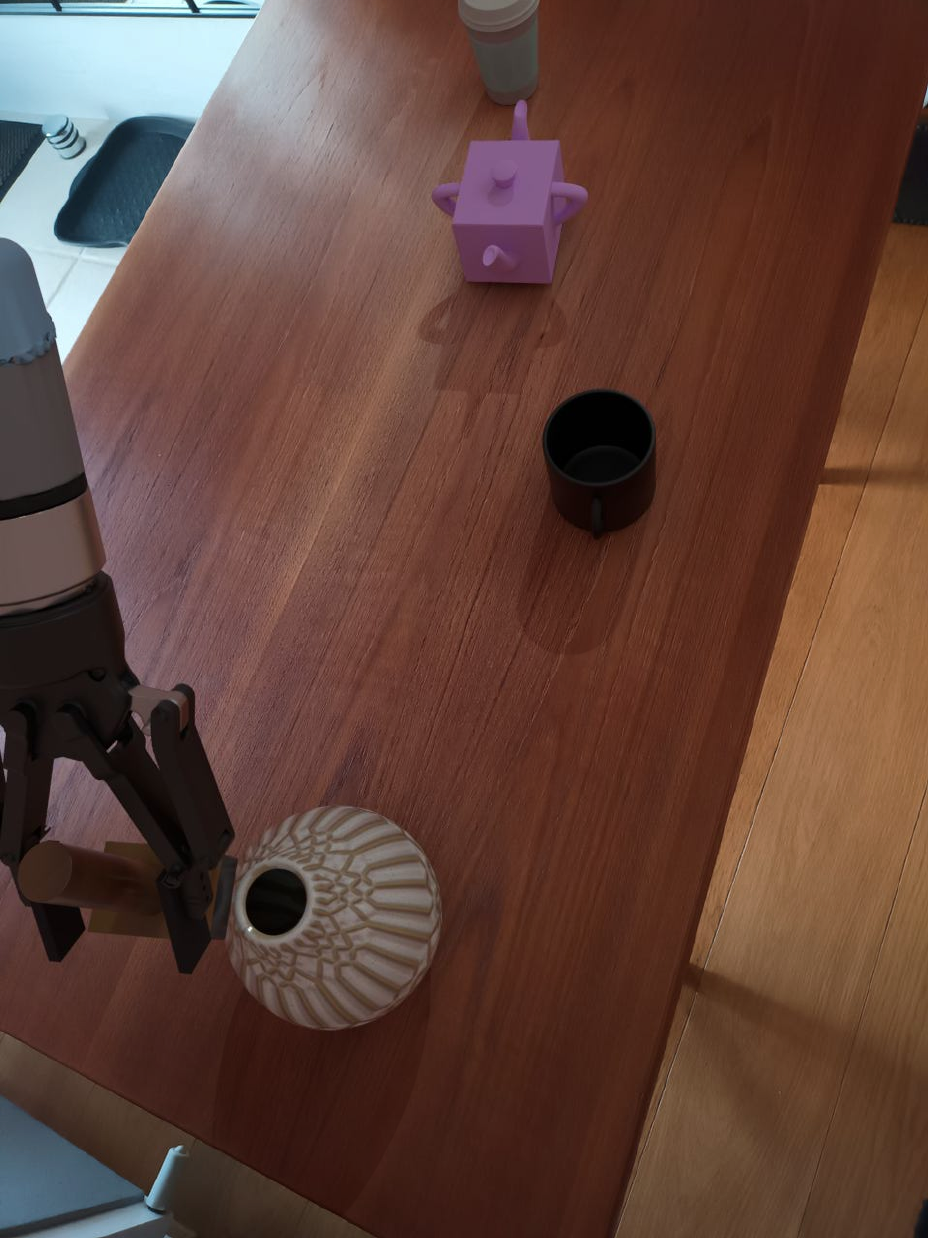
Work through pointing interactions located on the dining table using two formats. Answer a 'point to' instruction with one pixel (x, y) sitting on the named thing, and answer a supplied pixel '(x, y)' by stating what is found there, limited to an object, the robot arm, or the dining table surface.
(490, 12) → the coffee cup
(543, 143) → the teapot
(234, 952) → the vase
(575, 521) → the mug
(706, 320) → the dining table surface
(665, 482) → the dining table surface
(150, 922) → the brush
